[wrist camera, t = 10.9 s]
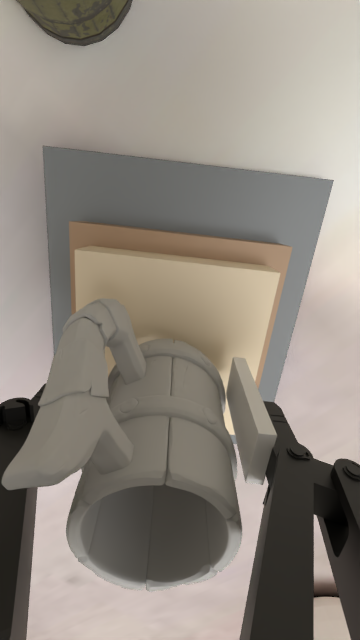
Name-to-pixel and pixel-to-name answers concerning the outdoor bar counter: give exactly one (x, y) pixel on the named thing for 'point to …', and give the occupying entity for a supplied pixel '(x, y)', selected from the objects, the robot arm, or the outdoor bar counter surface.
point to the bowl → (329, 619)
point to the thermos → (77, 18)
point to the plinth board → (188, 213)
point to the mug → (136, 454)
